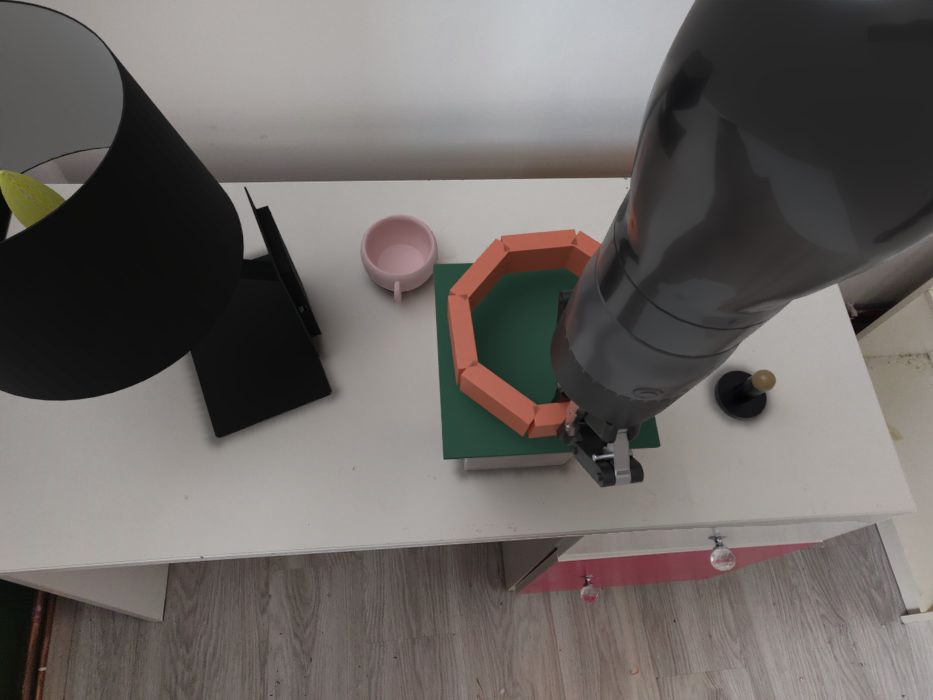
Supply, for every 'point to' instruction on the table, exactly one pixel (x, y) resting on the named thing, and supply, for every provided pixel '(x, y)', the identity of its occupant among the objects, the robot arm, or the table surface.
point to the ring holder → (744, 393)
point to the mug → (399, 253)
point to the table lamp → (132, 245)
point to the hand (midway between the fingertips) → (567, 419)
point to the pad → (506, 362)
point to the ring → (470, 291)
